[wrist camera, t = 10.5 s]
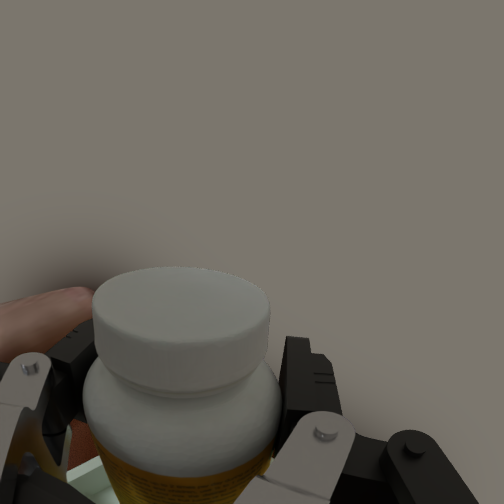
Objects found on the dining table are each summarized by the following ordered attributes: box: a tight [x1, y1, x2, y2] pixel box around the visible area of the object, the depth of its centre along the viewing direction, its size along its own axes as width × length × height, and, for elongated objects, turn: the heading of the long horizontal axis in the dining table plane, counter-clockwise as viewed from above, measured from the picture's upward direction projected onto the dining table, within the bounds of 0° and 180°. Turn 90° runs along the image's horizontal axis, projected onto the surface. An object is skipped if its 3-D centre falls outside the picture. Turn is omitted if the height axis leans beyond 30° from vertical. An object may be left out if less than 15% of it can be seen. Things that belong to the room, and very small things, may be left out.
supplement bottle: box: [83, 267, 282, 504], centre depth 8 cm, size 5×5×10 cm
